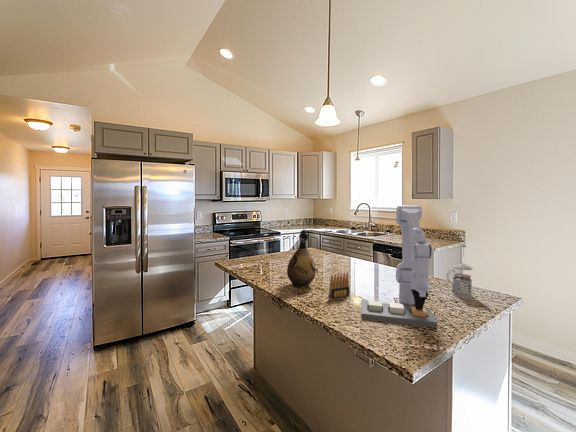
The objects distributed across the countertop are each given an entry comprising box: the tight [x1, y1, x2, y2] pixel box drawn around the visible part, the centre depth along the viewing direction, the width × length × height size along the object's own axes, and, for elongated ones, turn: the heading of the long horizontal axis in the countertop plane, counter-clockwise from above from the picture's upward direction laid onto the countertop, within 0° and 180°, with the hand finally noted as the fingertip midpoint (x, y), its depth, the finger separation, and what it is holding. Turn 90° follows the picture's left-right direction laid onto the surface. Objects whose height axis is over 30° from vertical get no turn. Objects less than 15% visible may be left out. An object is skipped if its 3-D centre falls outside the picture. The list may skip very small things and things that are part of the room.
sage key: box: [368, 300, 383, 312], centre depth 112 cm, size 5×5×3 cm
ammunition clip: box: [328, 272, 350, 299], centre depth 132 cm, size 11×2×12 cm, turn 116°
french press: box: [446, 243, 474, 299], centre depth 138 cm, size 10×12×25 cm
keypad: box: [360, 300, 438, 329], centre depth 110 cm, size 14×26×3 cm, turn 73°
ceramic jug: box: [286, 229, 317, 289], centre depth 151 cm, size 17×15×30 cm
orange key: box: [410, 305, 427, 317], centre depth 108 cm, size 5×5×3 cm
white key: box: [388, 302, 404, 314], centre depth 110 cm, size 5×5×3 cm
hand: (418, 309), depth 108 cm, fingers closed, pressing on orange key
